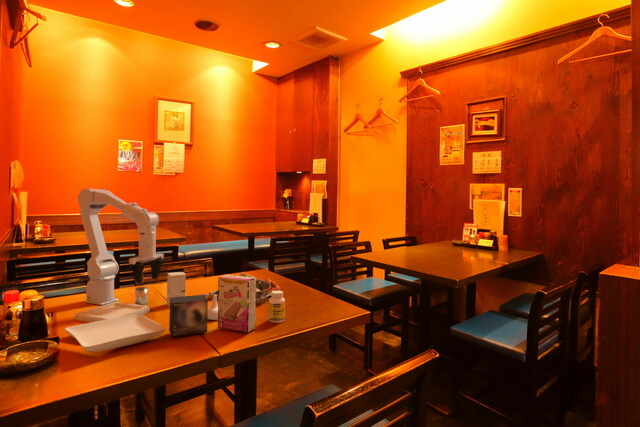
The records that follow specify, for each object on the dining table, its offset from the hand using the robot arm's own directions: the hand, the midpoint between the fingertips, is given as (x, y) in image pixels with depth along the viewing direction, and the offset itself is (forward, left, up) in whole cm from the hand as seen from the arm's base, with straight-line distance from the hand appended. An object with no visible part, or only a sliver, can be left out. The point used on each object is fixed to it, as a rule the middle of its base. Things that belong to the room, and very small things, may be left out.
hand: (147, 280), depth 140 cm
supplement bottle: (+52, +4, -10) cm, 53 cm away
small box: (+32, -16, -10) cm, 37 cm away
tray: (-2, -13, -10) cm, 16 cm away
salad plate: (+16, -28, -10) cm, 34 cm away
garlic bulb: (+31, -2, -10) cm, 33 cm away
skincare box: (+8, +6, -10) cm, 14 cm away
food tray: (+28, +24, -11) cm, 38 cm away
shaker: (-4, +1, -10) cm, 11 cm away
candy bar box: (+44, -8, -10) cm, 46 cm away
